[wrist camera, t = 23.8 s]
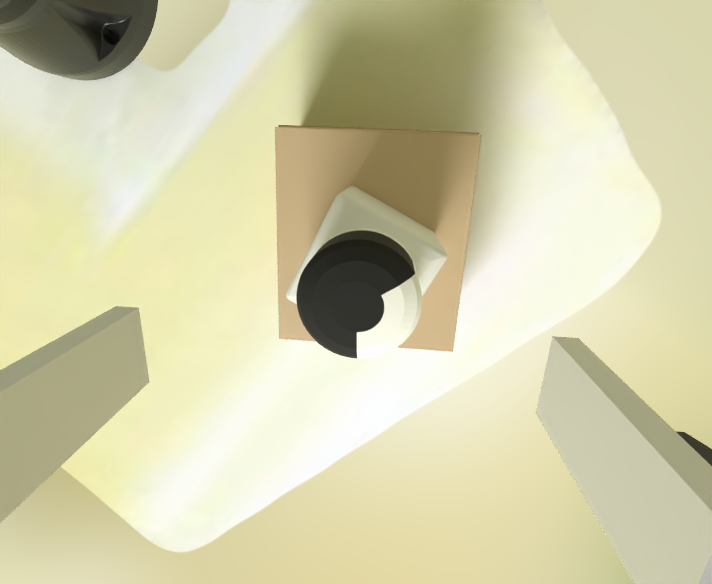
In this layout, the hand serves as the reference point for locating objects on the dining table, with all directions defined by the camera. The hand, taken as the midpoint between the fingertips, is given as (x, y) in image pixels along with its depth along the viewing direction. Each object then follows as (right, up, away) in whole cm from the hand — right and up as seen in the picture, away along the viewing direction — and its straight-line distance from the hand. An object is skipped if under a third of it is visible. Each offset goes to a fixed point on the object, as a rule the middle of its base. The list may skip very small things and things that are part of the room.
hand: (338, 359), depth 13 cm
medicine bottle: (+2, +5, +17) cm, 18 cm away
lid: (+2, +6, +18) cm, 19 cm away
